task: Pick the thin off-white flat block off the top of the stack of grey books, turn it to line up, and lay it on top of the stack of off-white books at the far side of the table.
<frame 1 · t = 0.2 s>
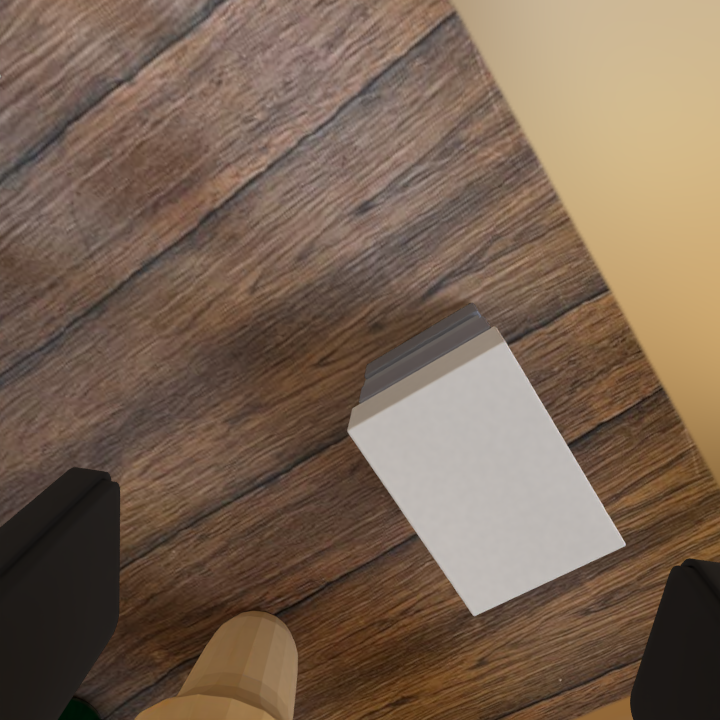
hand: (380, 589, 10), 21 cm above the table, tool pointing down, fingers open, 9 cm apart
ice cream cone: (259, 637, 37), on the table
soda can: (74, 718, 40), on the table
off-white flat block: (480, 461, 26), point 6 cm above the table, touching grey books
grey books: (466, 411, 32), on the table
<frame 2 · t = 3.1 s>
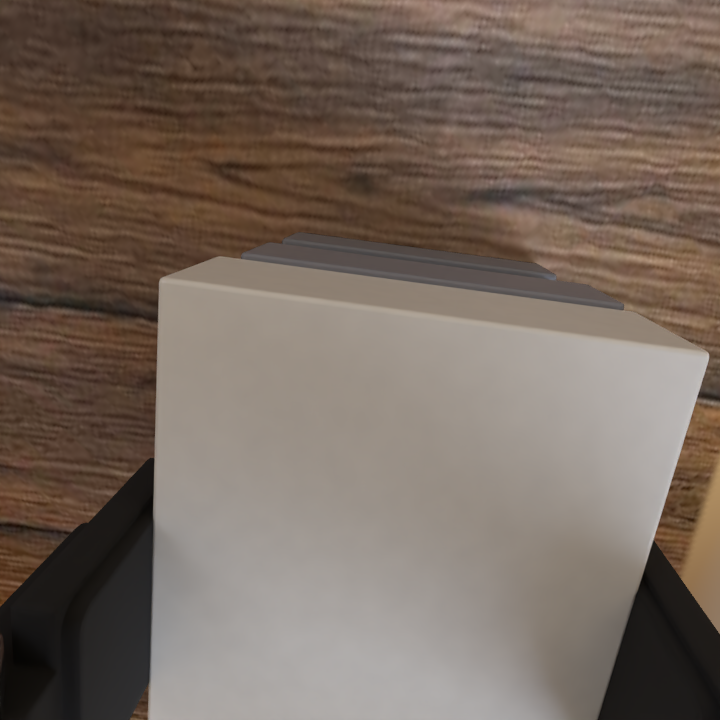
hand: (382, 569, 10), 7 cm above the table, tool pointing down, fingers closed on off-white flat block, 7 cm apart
off-white flat block: (383, 543, 11), point 6 cm above the table, touching grey books, gripper
grey books: (390, 422, 17), on the table
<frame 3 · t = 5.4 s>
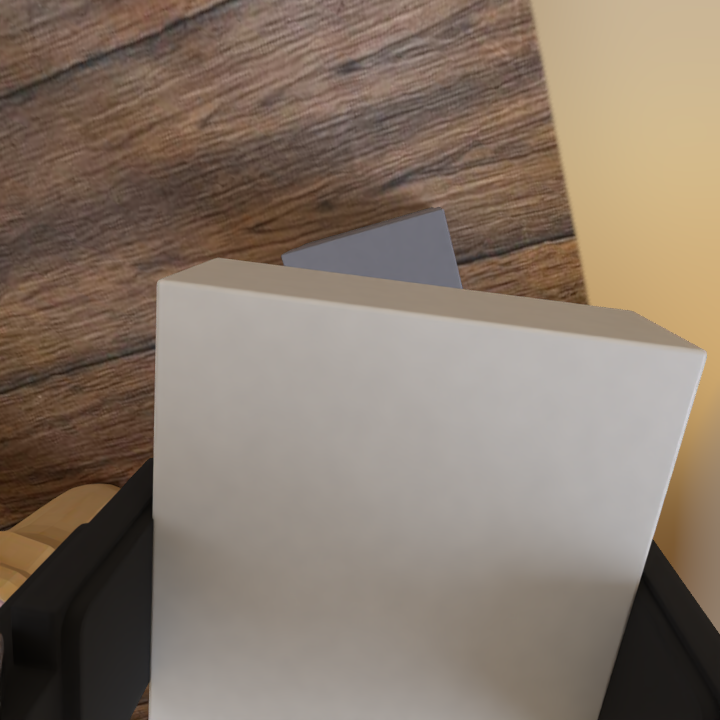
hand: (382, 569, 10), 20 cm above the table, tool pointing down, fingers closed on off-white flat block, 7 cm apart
ice cream cone: (109, 516, 34), on the table
off-white flat block: (383, 543, 11), point 19 cm above the table, touching gripper
grey books: (394, 325, 29), on the table
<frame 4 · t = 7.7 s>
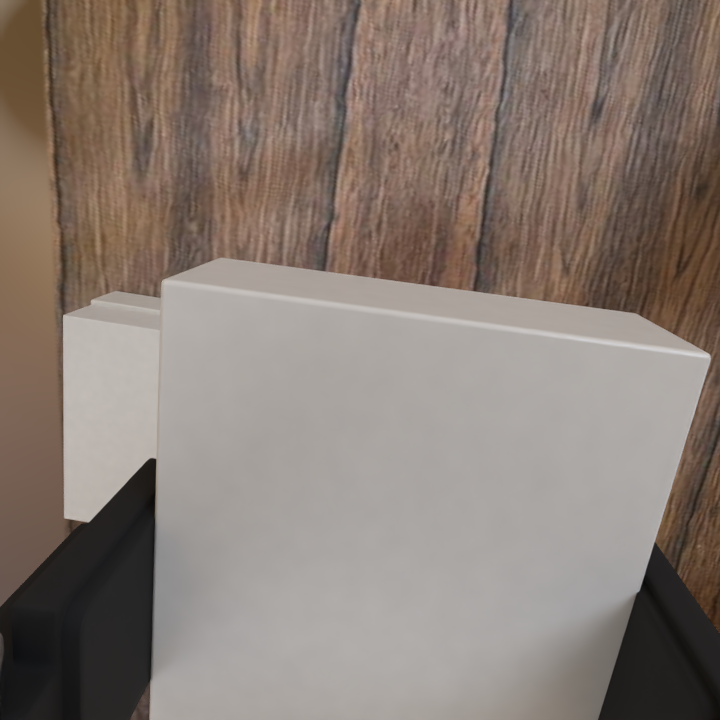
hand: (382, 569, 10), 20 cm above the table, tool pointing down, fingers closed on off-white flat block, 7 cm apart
white books: (177, 393, 31), on the table
off-white flat block: (385, 544, 11), point 19 cm above the table, touching gripper
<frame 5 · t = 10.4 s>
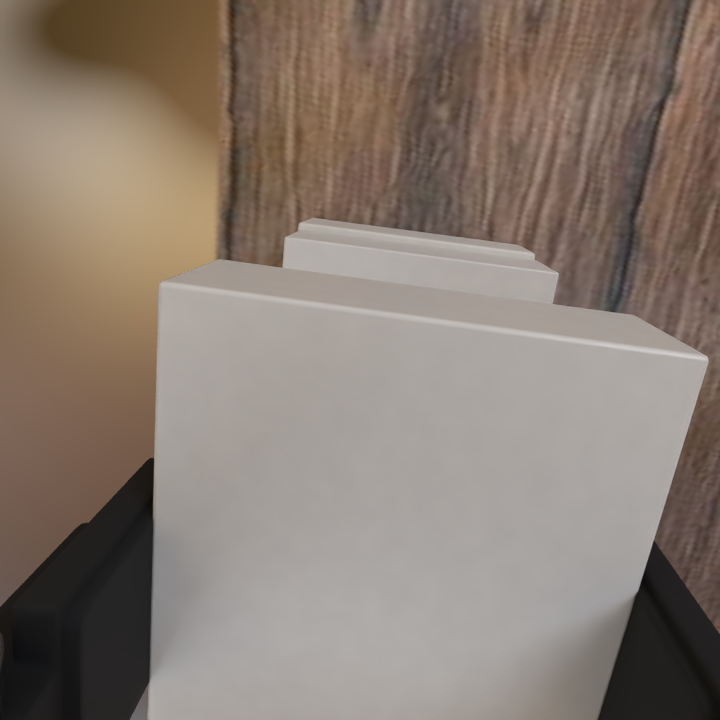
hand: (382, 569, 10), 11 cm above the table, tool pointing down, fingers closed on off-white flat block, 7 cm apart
white books: (394, 372, 21), on the table
off-white flat block: (383, 546, 11), point 10 cm above the table, touching gripper
when the fingers open (6 cm above the table, at t = 12.3 s): off-white flat block stays where it is, resting on white books.
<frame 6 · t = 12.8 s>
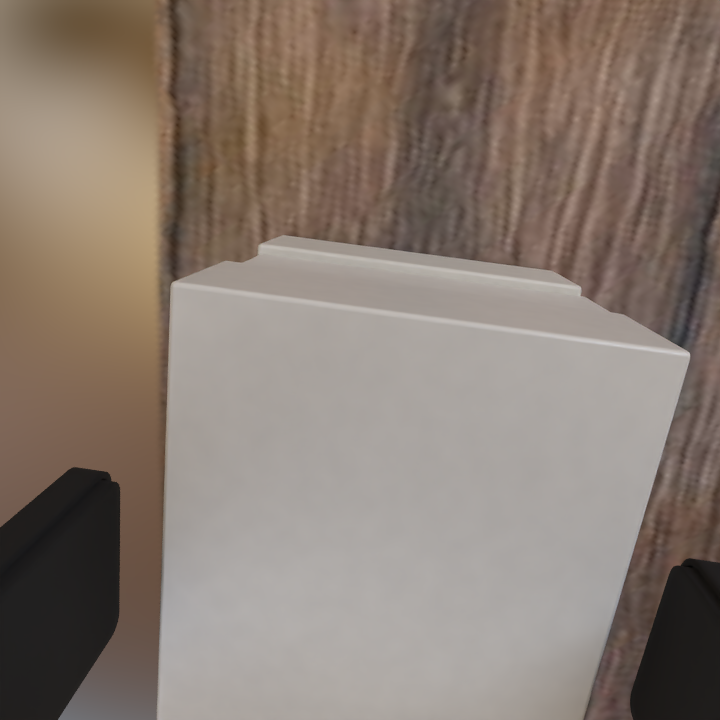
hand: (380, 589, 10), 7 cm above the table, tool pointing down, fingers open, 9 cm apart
white books: (389, 433, 16), on the table
off-white flat block: (383, 537, 12), point 5 cm above the table, touching white books
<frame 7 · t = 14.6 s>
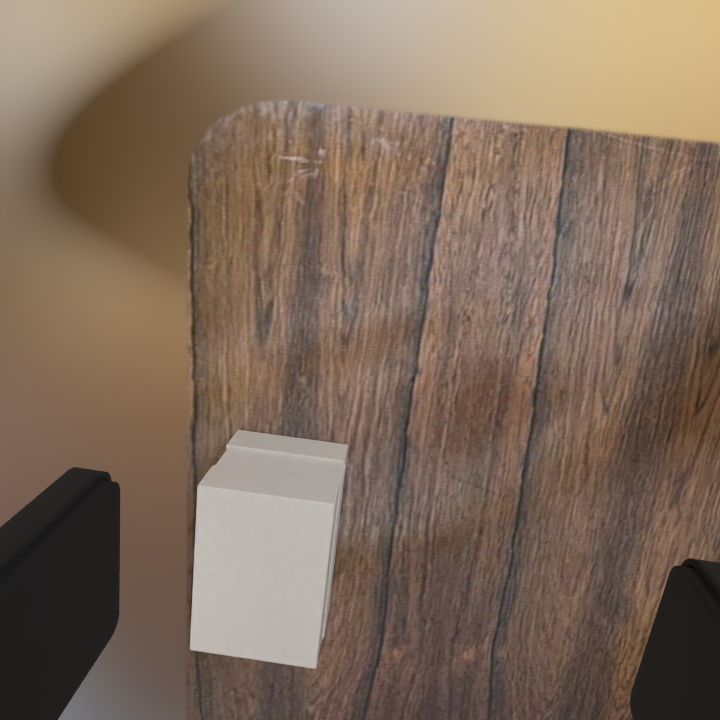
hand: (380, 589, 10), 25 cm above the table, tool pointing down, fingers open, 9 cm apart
white books: (286, 508, 38), on the table
off-white flat block: (269, 553, 33), point 5 cm above the table, touching white books
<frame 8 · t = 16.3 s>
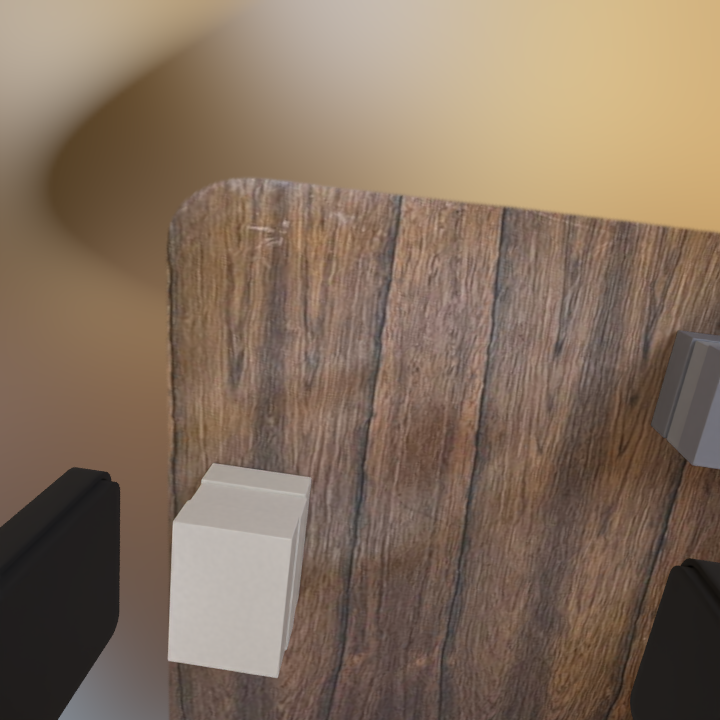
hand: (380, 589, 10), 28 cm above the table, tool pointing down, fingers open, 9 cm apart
white books: (256, 532, 43), on the table
off-white flat block: (238, 576, 38), point 5 cm above the table, touching white books
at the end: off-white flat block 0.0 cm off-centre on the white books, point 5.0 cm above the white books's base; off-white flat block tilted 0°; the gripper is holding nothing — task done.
